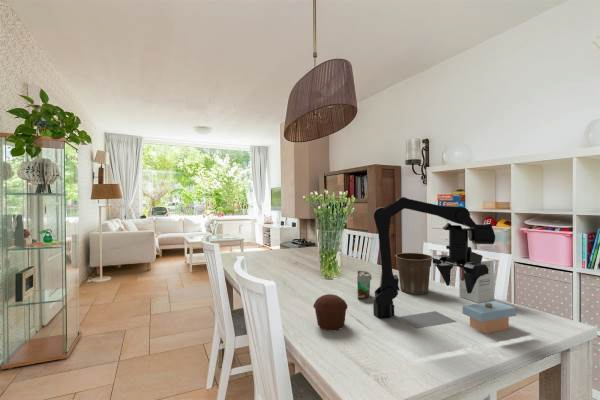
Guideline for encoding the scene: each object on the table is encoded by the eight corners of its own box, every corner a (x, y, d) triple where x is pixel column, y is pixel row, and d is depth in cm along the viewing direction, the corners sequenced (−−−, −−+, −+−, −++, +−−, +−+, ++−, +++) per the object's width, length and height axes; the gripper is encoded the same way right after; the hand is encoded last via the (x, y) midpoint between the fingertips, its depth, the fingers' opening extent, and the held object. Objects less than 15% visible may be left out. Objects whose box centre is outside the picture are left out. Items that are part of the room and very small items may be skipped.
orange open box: (485, 336, 92) (485, 320, 92) (470, 328, 98) (469, 313, 98) (508, 331, 95) (508, 315, 95) (492, 324, 101) (492, 309, 101)
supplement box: (458, 296, 130) (457, 257, 130) (474, 293, 133) (473, 255, 133) (478, 303, 121) (478, 261, 121) (495, 300, 124) (494, 259, 124)
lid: (481, 321, 91) (480, 310, 91) (462, 313, 98) (462, 302, 98) (515, 315, 95) (515, 304, 95) (495, 308, 102) (495, 297, 102)
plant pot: (436, 297, 129) (435, 259, 129) (396, 295, 133) (396, 258, 133) (430, 286, 145) (429, 253, 145) (395, 284, 149) (394, 252, 149)
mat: (416, 331, 97) (416, 328, 97) (398, 319, 106) (398, 316, 106) (456, 324, 101) (456, 321, 101) (435, 313, 111) (435, 311, 111)
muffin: (351, 321, 106) (350, 292, 106) (343, 334, 96) (343, 303, 96) (319, 317, 110) (318, 289, 110) (308, 329, 100) (308, 299, 100)
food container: (372, 301, 126) (372, 277, 126) (357, 300, 127) (357, 276, 127) (371, 292, 138) (371, 270, 138) (358, 291, 139) (357, 270, 139)
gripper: (502, 246, 96) (501, 295, 96) (456, 239, 114) (456, 280, 114) (474, 248, 93) (473, 298, 93) (431, 240, 111) (431, 282, 111)
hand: (458, 289), depth 103 cm, fingers open, 9 cm apart
